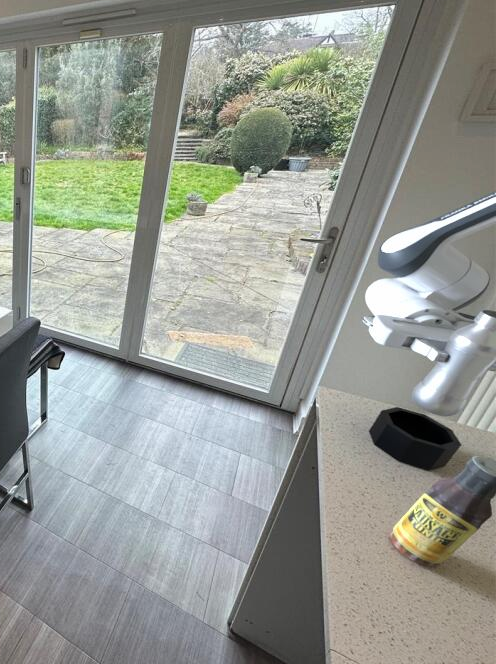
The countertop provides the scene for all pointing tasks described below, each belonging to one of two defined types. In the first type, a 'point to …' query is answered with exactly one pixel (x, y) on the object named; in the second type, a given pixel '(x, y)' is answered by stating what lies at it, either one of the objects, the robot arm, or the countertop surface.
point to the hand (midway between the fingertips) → (467, 363)
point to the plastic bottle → (459, 367)
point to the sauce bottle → (447, 514)
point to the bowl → (414, 438)
